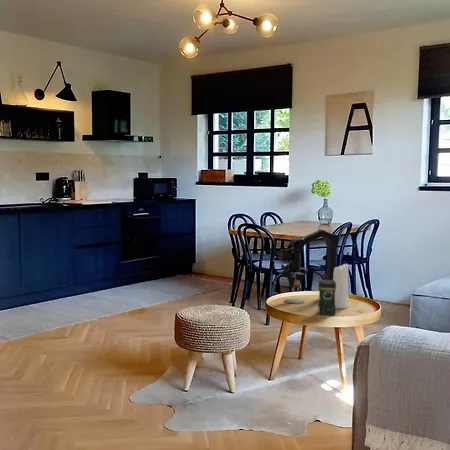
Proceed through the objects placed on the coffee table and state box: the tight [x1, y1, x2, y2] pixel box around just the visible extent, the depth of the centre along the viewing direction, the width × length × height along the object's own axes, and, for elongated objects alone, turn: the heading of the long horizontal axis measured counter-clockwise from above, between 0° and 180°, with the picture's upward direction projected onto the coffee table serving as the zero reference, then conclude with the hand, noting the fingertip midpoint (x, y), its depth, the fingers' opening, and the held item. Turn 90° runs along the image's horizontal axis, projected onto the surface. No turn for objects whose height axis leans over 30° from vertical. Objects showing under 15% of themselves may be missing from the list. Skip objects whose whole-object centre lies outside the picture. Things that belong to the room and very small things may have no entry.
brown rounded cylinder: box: [291, 278, 301, 293], centre depth 330 cm, size 6×6×6 cm
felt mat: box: [283, 298, 305, 305], centre depth 331 cm, size 12×12×1 cm
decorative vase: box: [333, 263, 350, 309], centre depth 320 cm, size 11×11×25 cm
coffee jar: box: [317, 279, 337, 316], centre depth 303 cm, size 10×8×19 cm
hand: (294, 286), depth 330 cm, fingers closed on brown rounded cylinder, 6 cm apart
